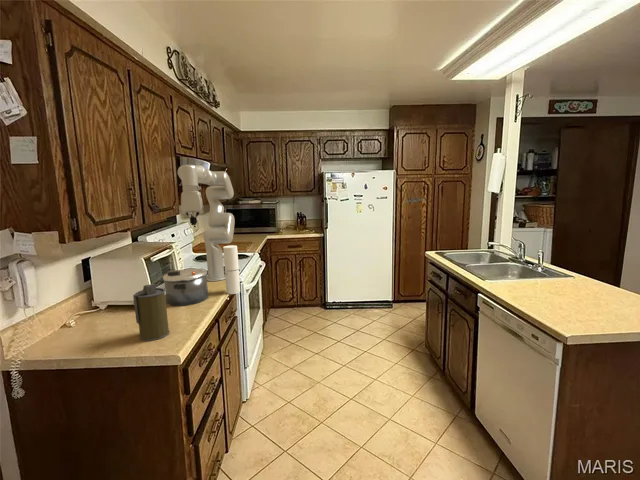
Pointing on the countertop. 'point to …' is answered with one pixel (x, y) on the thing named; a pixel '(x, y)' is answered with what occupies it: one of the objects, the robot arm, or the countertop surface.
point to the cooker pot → (186, 292)
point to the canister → (151, 313)
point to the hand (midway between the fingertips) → (193, 224)
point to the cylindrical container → (231, 269)
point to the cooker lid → (184, 275)
